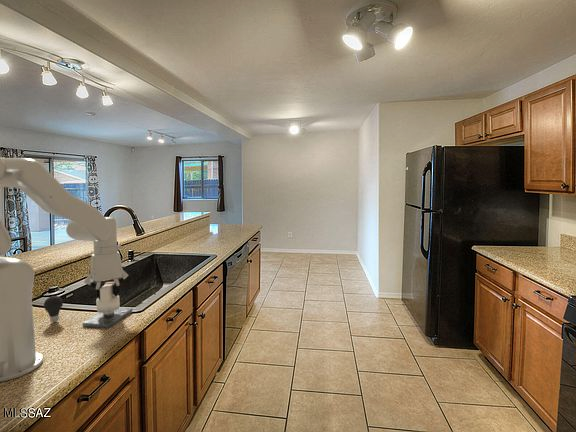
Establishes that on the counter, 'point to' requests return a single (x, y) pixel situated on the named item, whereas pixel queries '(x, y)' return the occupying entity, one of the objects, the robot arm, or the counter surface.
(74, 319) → the counter surface
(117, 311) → the plate
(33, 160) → the robot arm
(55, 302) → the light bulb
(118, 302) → the twist cap
